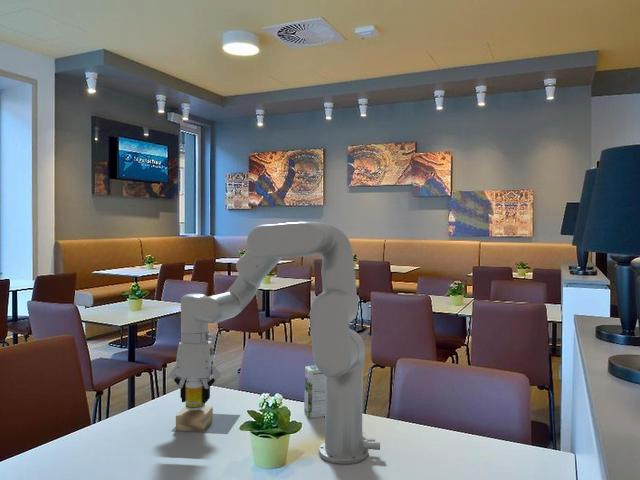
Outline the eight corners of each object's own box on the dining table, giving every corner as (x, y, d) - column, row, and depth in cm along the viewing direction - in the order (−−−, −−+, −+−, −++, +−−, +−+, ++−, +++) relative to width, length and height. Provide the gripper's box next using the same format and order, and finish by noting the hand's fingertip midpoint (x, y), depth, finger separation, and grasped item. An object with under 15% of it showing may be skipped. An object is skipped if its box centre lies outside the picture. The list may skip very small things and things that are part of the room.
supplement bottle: (185, 404, 146) (185, 371, 146) (204, 403, 147) (204, 370, 147) (185, 411, 141) (185, 377, 141) (205, 410, 142) (204, 376, 142)
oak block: (212, 420, 148) (212, 406, 148) (203, 431, 140) (203, 416, 140) (186, 419, 148) (186, 405, 148) (175, 430, 141) (175, 415, 140)
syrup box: (303, 412, 158) (303, 366, 157) (321, 410, 159) (321, 364, 159) (308, 418, 152) (308, 371, 152) (327, 416, 154) (327, 369, 154)
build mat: (240, 418, 152) (240, 414, 152) (227, 438, 138) (227, 433, 138) (188, 416, 154) (188, 412, 154) (170, 435, 140) (170, 431, 140)
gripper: (228, 335, 146) (228, 397, 147) (170, 334, 148) (171, 395, 148) (220, 341, 139) (220, 406, 139) (160, 340, 141) (160, 404, 141)
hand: (195, 400), depth 144 cm, fingers closed on supplement bottle, 5 cm apart
